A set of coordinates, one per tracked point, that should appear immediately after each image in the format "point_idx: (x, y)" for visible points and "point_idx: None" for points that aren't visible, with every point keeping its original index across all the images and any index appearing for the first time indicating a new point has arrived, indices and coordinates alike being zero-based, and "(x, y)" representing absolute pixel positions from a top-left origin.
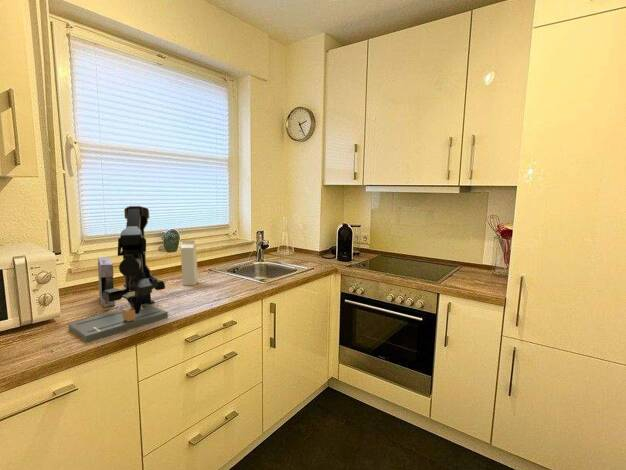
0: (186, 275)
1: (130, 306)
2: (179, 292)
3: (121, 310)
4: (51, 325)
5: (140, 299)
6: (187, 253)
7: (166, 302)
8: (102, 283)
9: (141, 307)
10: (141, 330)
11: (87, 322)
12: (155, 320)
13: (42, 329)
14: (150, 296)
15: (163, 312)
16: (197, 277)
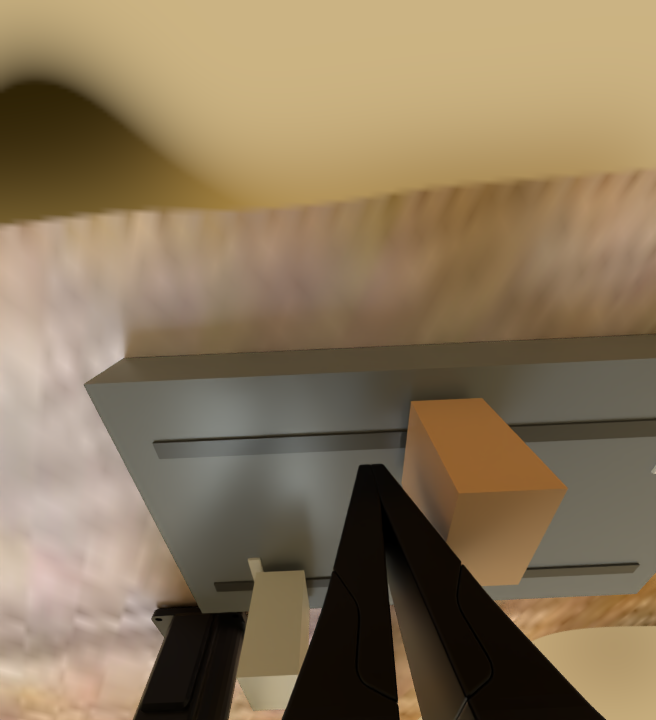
0: None
1: (309, 616)
2: (4, 647)
3: None
4: (588, 617)
5: (371, 714)
6: None
7: (91, 584)
8: None
9: (257, 576)
10: (420, 227)
11: (589, 559)
12: (236, 354)
13: (634, 605)
14: (152, 670)
15: (125, 401)
16: None
